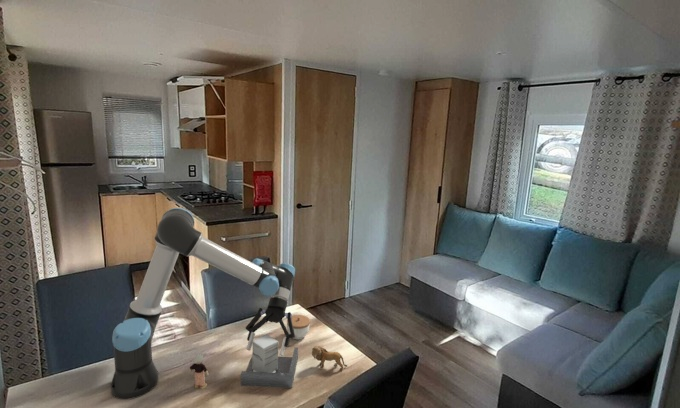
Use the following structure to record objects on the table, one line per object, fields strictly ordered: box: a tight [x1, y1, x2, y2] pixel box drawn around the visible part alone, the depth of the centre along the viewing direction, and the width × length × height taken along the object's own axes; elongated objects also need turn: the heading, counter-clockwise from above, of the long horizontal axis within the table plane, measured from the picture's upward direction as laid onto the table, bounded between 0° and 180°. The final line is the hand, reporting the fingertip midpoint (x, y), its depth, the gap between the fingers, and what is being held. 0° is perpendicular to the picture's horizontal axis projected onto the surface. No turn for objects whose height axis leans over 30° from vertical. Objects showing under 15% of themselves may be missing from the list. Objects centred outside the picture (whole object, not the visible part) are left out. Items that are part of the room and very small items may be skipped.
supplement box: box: [251, 333, 279, 372], centre depth 141 cm, size 7×7×13 cm
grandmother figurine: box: [188, 353, 209, 390], centre depth 131 cm, size 8×4×13 cm, turn 90°
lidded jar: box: [286, 314, 311, 340], centre depth 167 cm, size 11×11×9 cm
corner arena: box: [240, 347, 299, 389], centre depth 142 cm, size 19×18×5 cm
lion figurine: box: [311, 345, 348, 371], centre depth 146 cm, size 15×5×9 cm, turn 93°
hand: (264, 352), depth 139 cm, fingers open, 13 cm apart
